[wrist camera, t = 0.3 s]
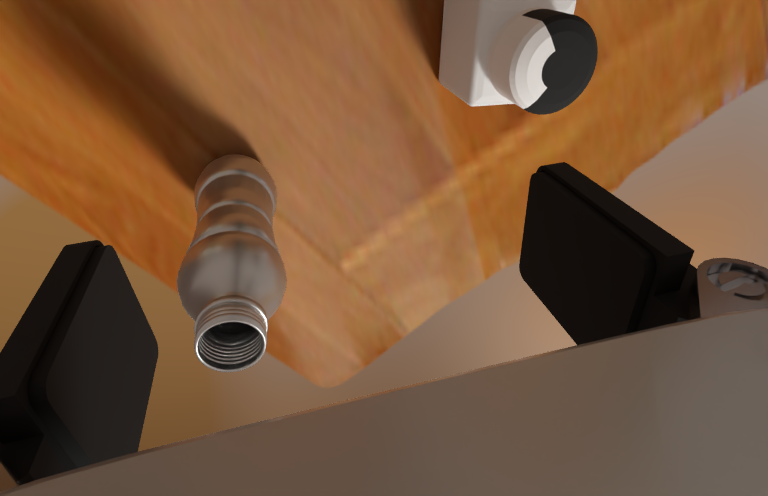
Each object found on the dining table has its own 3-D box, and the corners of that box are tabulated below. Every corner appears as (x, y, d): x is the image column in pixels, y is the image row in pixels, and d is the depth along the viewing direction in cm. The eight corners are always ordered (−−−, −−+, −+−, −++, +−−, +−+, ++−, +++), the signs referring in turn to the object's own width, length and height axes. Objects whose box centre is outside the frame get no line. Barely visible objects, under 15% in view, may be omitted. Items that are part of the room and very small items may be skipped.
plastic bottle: (194, 212, 41) (160, 393, 25) (200, 138, 38) (165, 291, 21) (269, 221, 43) (283, 392, 27) (281, 152, 40) (305, 299, 24)
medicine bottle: (528, -14, 37) (627, 3, 28) (513, 79, 41) (596, 122, 32) (443, -13, 36) (517, 6, 26) (436, 83, 40) (498, 130, 30)
